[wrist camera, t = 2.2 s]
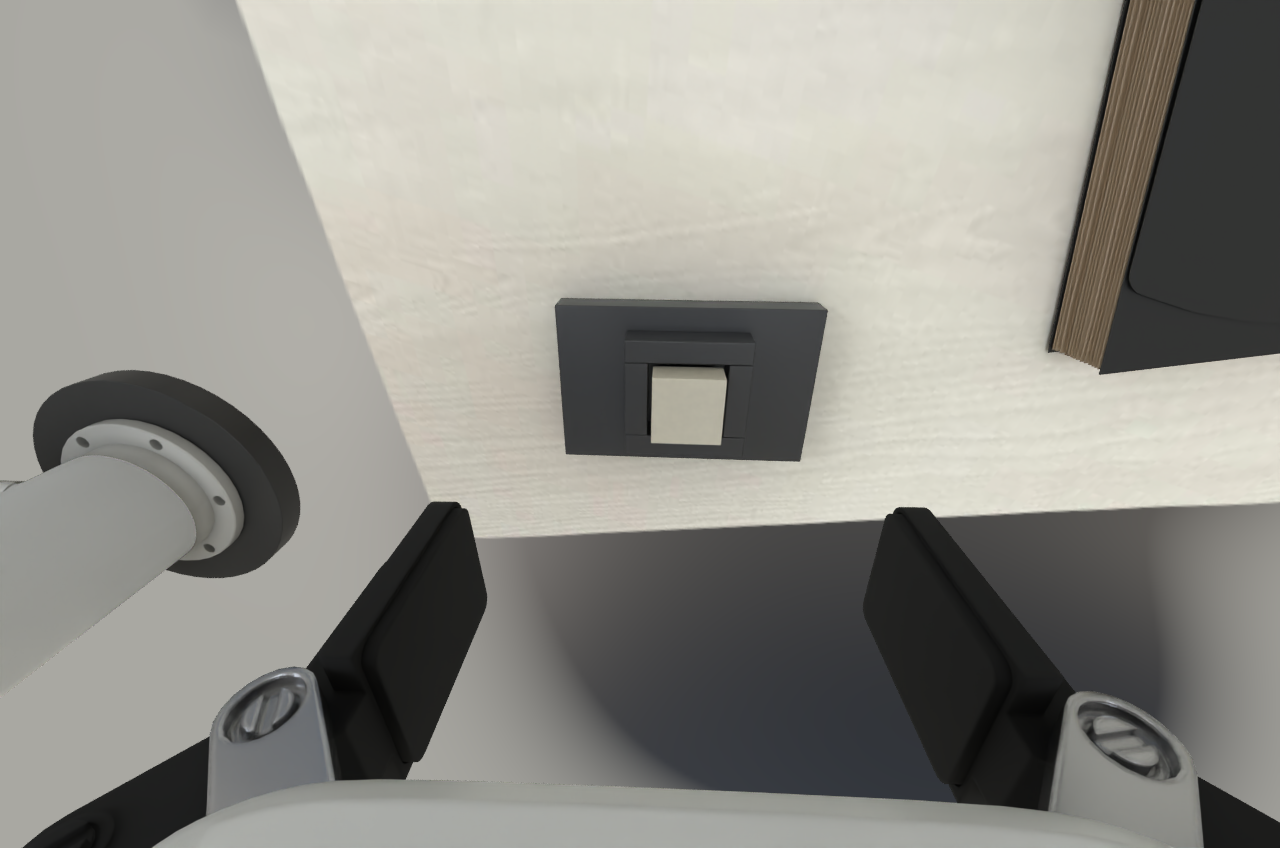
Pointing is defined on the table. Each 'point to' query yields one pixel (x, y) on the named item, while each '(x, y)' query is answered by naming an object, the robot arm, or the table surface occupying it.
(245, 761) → the robot arm
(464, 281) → the table surface
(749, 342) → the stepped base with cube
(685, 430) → the key
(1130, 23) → the file folder
